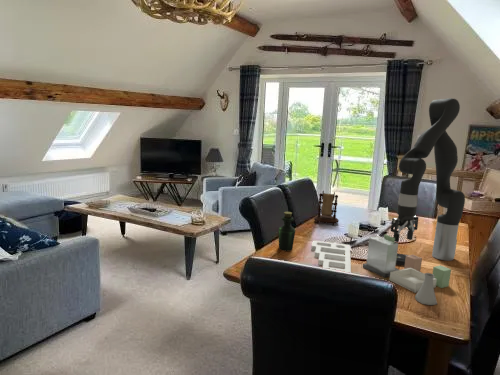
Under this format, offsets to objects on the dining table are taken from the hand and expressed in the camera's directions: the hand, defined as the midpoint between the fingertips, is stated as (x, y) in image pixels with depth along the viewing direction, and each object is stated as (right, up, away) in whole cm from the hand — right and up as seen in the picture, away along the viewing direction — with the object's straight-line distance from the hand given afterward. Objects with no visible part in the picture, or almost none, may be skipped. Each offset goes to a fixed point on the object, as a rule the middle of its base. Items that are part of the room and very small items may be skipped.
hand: (402, 240), depth 163 cm
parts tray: (-2, -15, -15) cm, 21 cm away
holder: (-31, -11, +3) cm, 33 cm away
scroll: (-19, +1, +70) cm, 73 cm away
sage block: (+9, -15, -15) cm, 23 cm away
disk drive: (0, -11, +10) cm, 15 cm away
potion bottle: (-49, -7, +18) cm, 53 cm away
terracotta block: (+3, -13, -3) cm, 14 cm away
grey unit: (-10, -12, -3) cm, 16 cm away
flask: (-4, -18, -29) cm, 34 cm away
